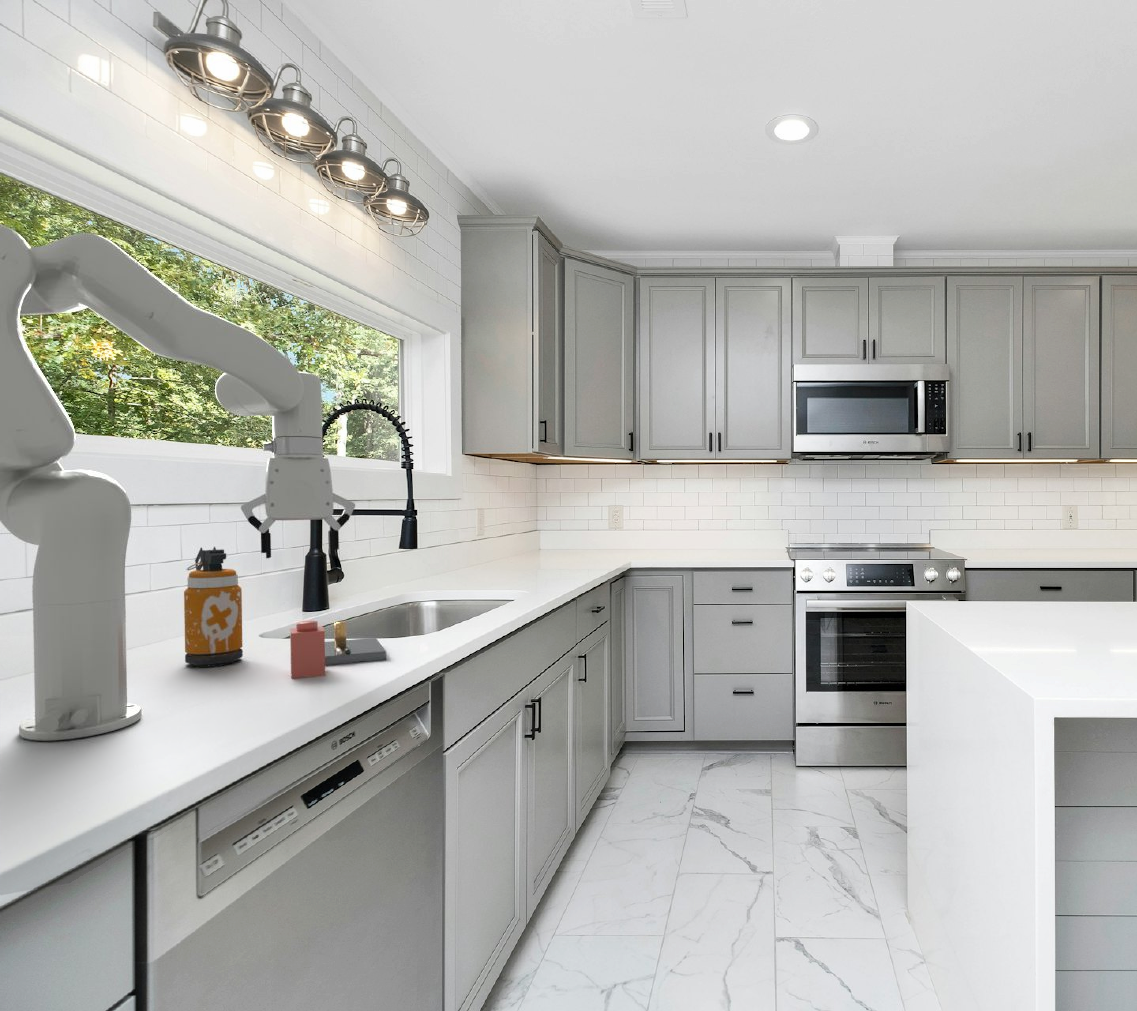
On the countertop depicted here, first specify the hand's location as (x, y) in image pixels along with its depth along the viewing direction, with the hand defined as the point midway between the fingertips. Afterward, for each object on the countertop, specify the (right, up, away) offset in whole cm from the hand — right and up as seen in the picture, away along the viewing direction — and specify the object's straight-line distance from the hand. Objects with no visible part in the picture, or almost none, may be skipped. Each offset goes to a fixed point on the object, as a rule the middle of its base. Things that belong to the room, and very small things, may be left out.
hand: (300, 556), depth 118 cm
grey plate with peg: (+2, -19, +13) cm, 23 cm away
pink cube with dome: (+1, -19, -1) cm, 19 cm away
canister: (-19, -19, +10) cm, 29 cm away
